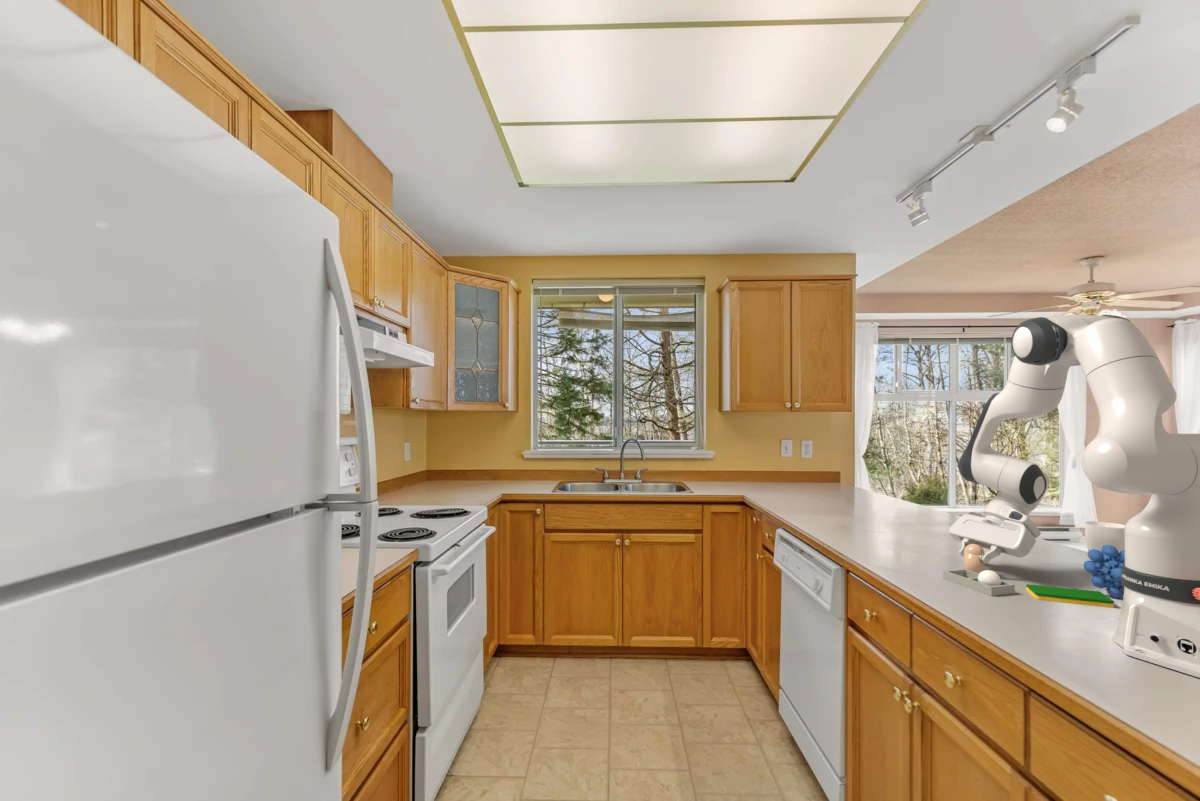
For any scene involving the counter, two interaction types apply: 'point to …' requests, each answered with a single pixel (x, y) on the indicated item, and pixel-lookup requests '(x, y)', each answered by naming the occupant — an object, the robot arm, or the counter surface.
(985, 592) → the carton
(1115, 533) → the cup
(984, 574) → the white egg
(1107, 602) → the dish sponge
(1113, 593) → the grapes
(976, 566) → the tan rounded cylinder
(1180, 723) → the counter surface
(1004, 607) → the counter surface
